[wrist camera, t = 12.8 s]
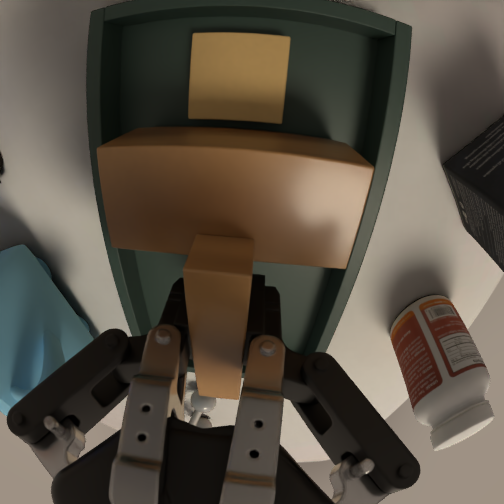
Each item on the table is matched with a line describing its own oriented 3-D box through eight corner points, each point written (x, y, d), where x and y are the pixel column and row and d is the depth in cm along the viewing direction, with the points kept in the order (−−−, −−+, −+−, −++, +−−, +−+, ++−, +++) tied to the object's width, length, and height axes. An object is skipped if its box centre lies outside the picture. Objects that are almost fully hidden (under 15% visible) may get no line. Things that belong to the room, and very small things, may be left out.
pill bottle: (401, 351, 22) (430, 457, 13) (377, 321, 20) (413, 453, 11) (456, 316, 20) (501, 419, 11) (443, 278, 17) (506, 403, 8)
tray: (388, 32, 9) (413, 26, 7) (309, 355, 22) (312, 380, 20) (116, 18, 9) (90, 11, 7) (150, 340, 22) (142, 364, 20)
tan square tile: (288, 40, 10) (290, 36, 9) (280, 121, 12) (282, 124, 11) (198, 36, 10) (192, 32, 9) (194, 116, 12) (187, 119, 11)
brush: (149, 122, 12) (60, 167, 6) (338, 135, 12) (402, 192, 6) (164, 293, 18) (132, 383, 12) (299, 306, 18) (309, 403, 12)
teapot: (-10, 296, 22) (-60, 378, 11) (-15, 190, 14) (-118, 295, 3) (106, 377, 28) (76, 474, 17) (154, 311, 20) (101, 482, 9)
